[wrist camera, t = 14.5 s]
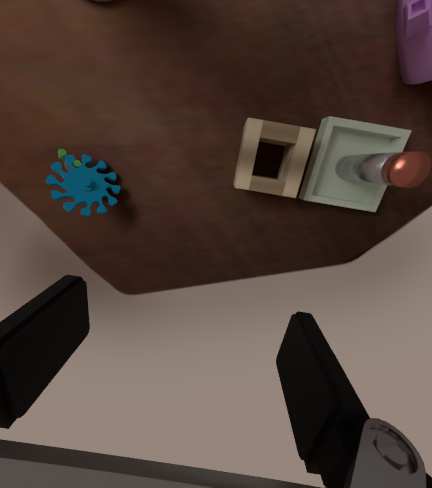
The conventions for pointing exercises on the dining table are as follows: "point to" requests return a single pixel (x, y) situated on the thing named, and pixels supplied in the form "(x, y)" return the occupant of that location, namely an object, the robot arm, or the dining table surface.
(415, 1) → the teakettle
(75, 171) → the gear
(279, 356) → the robot arm
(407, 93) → the dining table surface
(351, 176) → the metal peg
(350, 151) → the tray
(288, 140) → the socket block
